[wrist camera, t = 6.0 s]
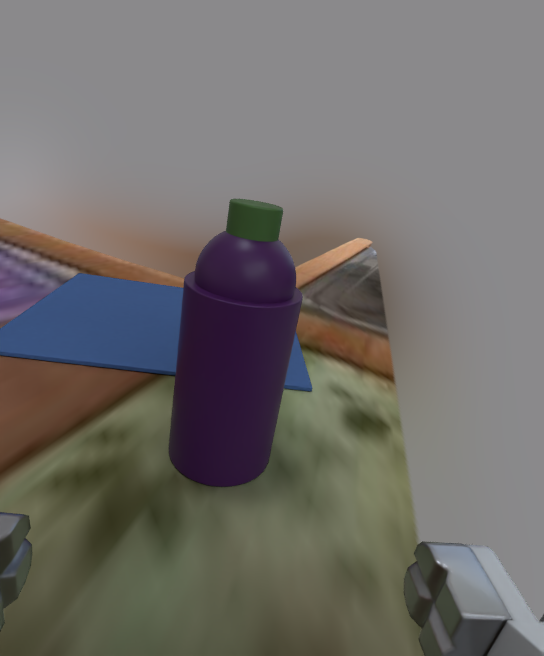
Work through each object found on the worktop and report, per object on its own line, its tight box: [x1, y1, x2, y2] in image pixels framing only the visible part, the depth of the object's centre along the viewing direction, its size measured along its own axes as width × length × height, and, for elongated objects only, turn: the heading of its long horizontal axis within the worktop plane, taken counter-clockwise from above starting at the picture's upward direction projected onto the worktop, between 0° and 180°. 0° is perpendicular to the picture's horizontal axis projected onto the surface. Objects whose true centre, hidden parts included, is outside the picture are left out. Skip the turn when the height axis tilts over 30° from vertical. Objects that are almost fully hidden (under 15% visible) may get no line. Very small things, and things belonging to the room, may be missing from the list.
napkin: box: [0, 273, 312, 391], centre depth 35 cm, size 22×18×1 cm
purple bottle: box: [169, 199, 303, 487], centre depth 19 cm, size 5×5×12 cm
